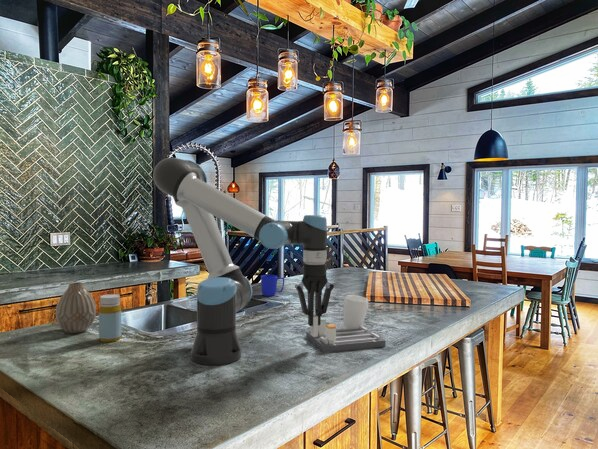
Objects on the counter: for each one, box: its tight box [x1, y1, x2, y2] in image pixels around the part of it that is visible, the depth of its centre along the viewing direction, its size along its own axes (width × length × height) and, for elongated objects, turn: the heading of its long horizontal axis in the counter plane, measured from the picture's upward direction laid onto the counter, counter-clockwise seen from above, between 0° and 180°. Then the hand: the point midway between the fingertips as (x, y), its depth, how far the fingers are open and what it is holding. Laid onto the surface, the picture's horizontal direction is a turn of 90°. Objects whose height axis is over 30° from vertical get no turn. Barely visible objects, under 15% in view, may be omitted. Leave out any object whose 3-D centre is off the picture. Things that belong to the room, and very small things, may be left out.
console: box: [305, 326, 386, 353], centre depth 152 cm, size 22×18×3 cm
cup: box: [342, 294, 369, 328], centre depth 165 cm, size 9×9×12 cm
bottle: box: [98, 293, 123, 343], centre depth 151 cm, size 7×7×15 cm
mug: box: [260, 274, 285, 297], centre depth 227 cm, size 8×12×10 cm
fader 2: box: [326, 323, 337, 342], centre depth 146 cm, size 2×3×5 cm
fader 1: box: [318, 316, 327, 334], centre depth 154 cm, size 2×3×5 cm
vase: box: [55, 281, 97, 334], centre depth 161 cm, size 13×13×18 cm
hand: (314, 335), depth 144 cm, fingers closed
